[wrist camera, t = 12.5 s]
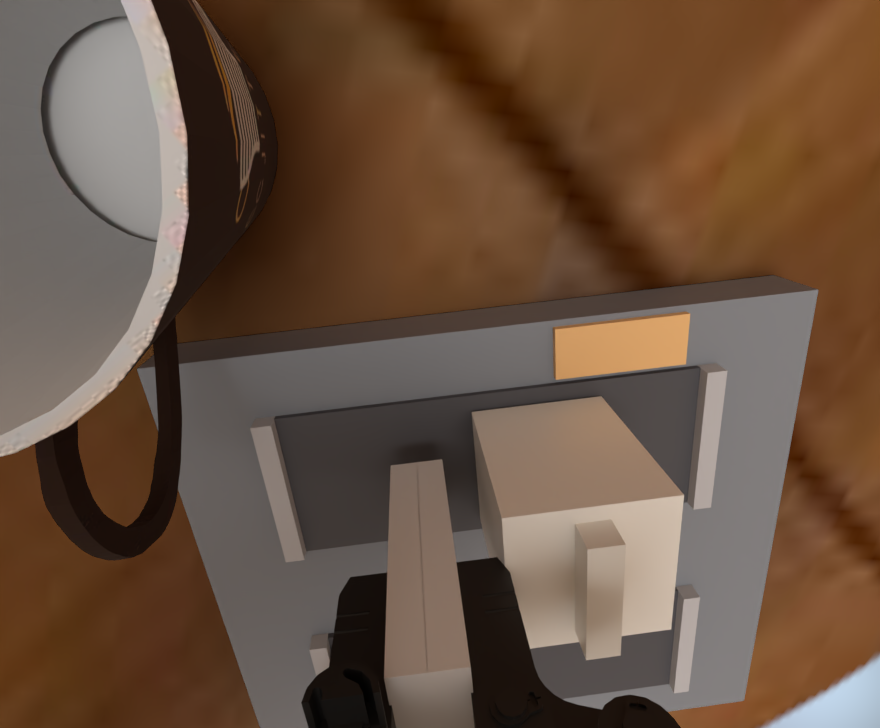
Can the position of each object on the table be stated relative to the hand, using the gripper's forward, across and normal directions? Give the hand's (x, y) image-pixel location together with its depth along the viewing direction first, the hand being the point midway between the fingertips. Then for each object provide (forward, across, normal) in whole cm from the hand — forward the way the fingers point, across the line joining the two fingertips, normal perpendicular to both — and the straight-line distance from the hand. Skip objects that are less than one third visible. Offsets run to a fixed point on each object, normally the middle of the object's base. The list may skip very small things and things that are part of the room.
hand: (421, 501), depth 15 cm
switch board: (+4, +2, -4) cm, 6 cm away
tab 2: (+1, +4, 0) cm, 4 cm away
